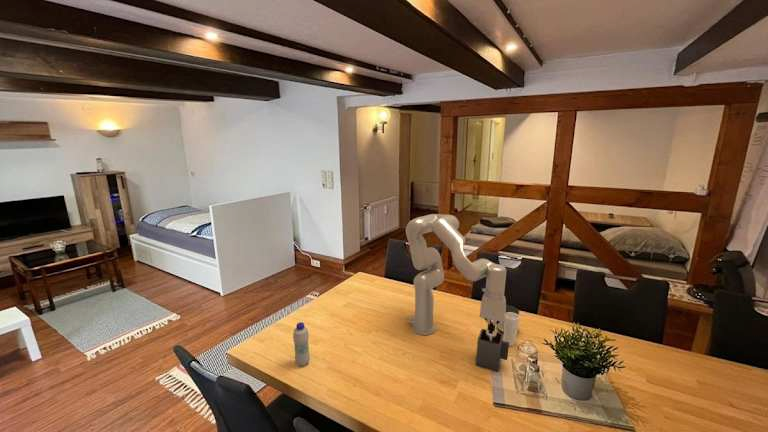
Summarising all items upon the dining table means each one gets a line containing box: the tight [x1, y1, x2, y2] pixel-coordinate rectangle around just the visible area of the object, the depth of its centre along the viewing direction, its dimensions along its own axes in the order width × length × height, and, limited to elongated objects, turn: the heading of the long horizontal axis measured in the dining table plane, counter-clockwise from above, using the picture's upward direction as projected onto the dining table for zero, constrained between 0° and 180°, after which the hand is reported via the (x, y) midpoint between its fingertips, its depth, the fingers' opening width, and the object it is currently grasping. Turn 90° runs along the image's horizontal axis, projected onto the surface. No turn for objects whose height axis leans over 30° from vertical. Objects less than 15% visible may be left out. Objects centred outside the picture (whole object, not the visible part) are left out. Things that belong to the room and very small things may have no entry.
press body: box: [475, 328, 510, 373], centre depth 148 cm, size 12×10×13 cm
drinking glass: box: [503, 312, 520, 347], centre depth 162 cm, size 7×7×15 cm
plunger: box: [486, 328, 497, 342], centre depth 148 cm, size 7×7×12 cm
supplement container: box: [496, 304, 521, 334], centre depth 173 cm, size 10×10×12 cm
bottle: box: [292, 322, 311, 367], centre depth 147 cm, size 7×7×20 cm
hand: (491, 331), depth 146 cm, fingers closed
